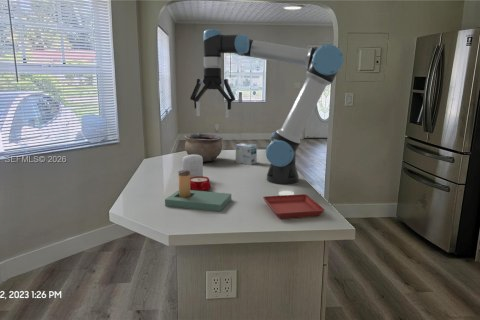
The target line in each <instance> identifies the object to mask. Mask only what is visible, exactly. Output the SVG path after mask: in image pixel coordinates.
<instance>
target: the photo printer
mask: <svg viewBox="0 0 480 320" xmlns="http://www.w3.org/2000/svg"><path fill="white" fill-rule="evenodd" d="M203 163H204V162H203V158H202V156H200V155H188V154H187V155H185V156H183V157H182V159H181V171H182V170H188V171H190V178H191V177H196V176H203V177H204V175H203V174H204V169H203V166H204V164H203Z"/></svg>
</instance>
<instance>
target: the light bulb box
mask: <svg viewBox="0 0 480 320" xmlns="http://www.w3.org/2000/svg"><path fill="white" fill-rule="evenodd" d="M257 149H258V146H257V144H251V143H243V142H242V143H238V144H235V164H241V163H243V165H248V164H249V165H250V166H251V165H255V164H257V159H258V158H257V156H258V154H257V152H258V151H257Z"/></svg>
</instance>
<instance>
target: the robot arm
mask: <svg viewBox="0 0 480 320" xmlns="http://www.w3.org/2000/svg"><path fill="white" fill-rule="evenodd" d="M202 41H203V42H202V43H203V44H202V46H203V48H202V49H203V67H204V68H203V79H202V78H197V79H196V84H195V87H194V89H193V91H192V93H191V95H190V100H191V101H193V102H194V103H193V104H194V106H193V107H194V109H196V110H195V111H196V117H200V116H201V101H200V99H201V98H202V96H203V95H204V94H205V93H206V91H208V90H218V91H219V93H220V94H221V95H222V96H223V98H224V99H225V100H226V101H225V118H229V117H230V110H232V102H233V101H236V96H235V95H234V93H233V91H232V88H231V86H230V84H229V79H228V78H224V79H222V69H221V67H222V54H234V55H237V56H240V57H241V56H242V57H249V58H254V59H259V60H260V59H261V60H266V61H270V62H271V61H272V62H277V63H283V64H288V65H295V66H300V67H304V68H305V69H306V71H305V72H306V79H305V81H304V82H303V85H302V87H301V89H300V91H299V92H298V95H297V97H296V99H295V100H294V102H293V105H292V107H291V108H290V111H289V113H288V114H287V116H286V118H285V120H284V122H283V124H282V126H281V128H279V129H276V131H275V132H272V133H271V137H270V139H271V140H270V143H269V144H268V145H267V146H266V149H265V156H266V159H267V161H268V162H269V163H270V165H269V168H268V171H267V174H266V180H267V182H270V183H272V184H278V185H279V184H280V185H284V184H285V185H288V184H296V183H298V182H299V179H300V177H299V173H298V170H297V166H296V165H297V164H296V159H297V158H296V157H297V156H296V155H297V150H298V148H299V146H300V144H301V139H300V137H301V135H302V133H303V131H304V129H305V127H306V126H307V124H308V121H309V120H310V117H312V114H313V112H314V110H315V108H316V106H317V104H318V103H319V101H320V99H321V96H322V95H323V93H324V91H325V89H326V88H327V86H330V85H332V83H333V81H335V78H336V76H338V75H337V74H338V72H339V70H340V69H342V67H343V64H344V54H343V52H342V50H341V49H340V47H337V46H336V45H334V44H330V43H327V44H322V45H321V46H319V47H318V48H317V47H310V48H303V47H299V46H298V47H297V46H292V45H285V44H279V43H274V42H268V41H262V40H255V39H250V38H249V36H248V35H247V34H240V33H239V34H222V32H221V30H219V29H205V30H204V31H203V39H202ZM202 84H203V85H204V86H202V88H201V90H200V87H201V85H202ZM221 84H223V85H224V88H225V90H226V91H225V90H224V89H223V87H222V85H221ZM199 90H200V91H199Z"/></svg>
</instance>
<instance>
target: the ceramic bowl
mask: <svg viewBox="0 0 480 320" xmlns="http://www.w3.org/2000/svg"><path fill="white" fill-rule="evenodd" d="M184 138H185V144H184V149H185V152H186V154H187V156H188V155H200V156H202V158H203V163H204V162H211V161H214V160H216V159H217V157H219V156H220V154H221V153H222V150H223V143H222V140H223V138H224V137H223V135H220V134H217V133H208V132H207V133H204V132H202V133H201V132H200V133H198V134H197V133H190V134H189V136H188V135H184Z"/></svg>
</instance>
